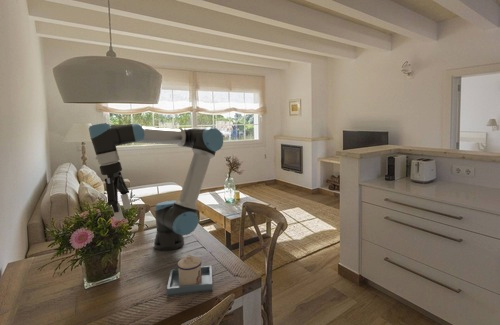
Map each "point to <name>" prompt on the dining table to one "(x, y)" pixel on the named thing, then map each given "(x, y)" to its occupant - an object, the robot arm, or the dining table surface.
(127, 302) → the dining table surface
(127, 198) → the robot arm
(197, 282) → the teacup with lid
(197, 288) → the slate tray
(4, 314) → the dining table surface
